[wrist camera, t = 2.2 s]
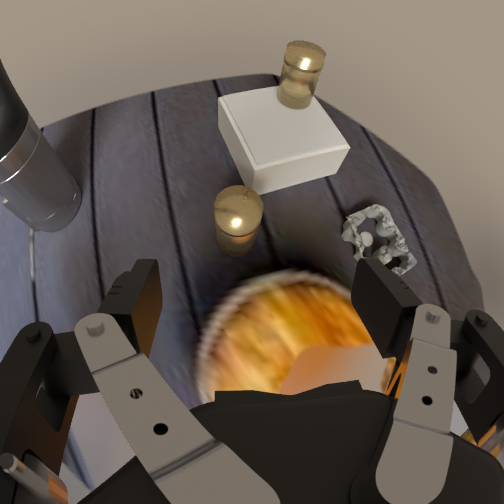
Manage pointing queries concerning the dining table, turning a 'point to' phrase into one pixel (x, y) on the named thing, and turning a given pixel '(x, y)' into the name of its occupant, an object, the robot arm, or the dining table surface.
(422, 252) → the dining table surface
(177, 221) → the dining table surface
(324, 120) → the scale
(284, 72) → the cylinder
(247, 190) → the disc
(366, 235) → the grey piece
